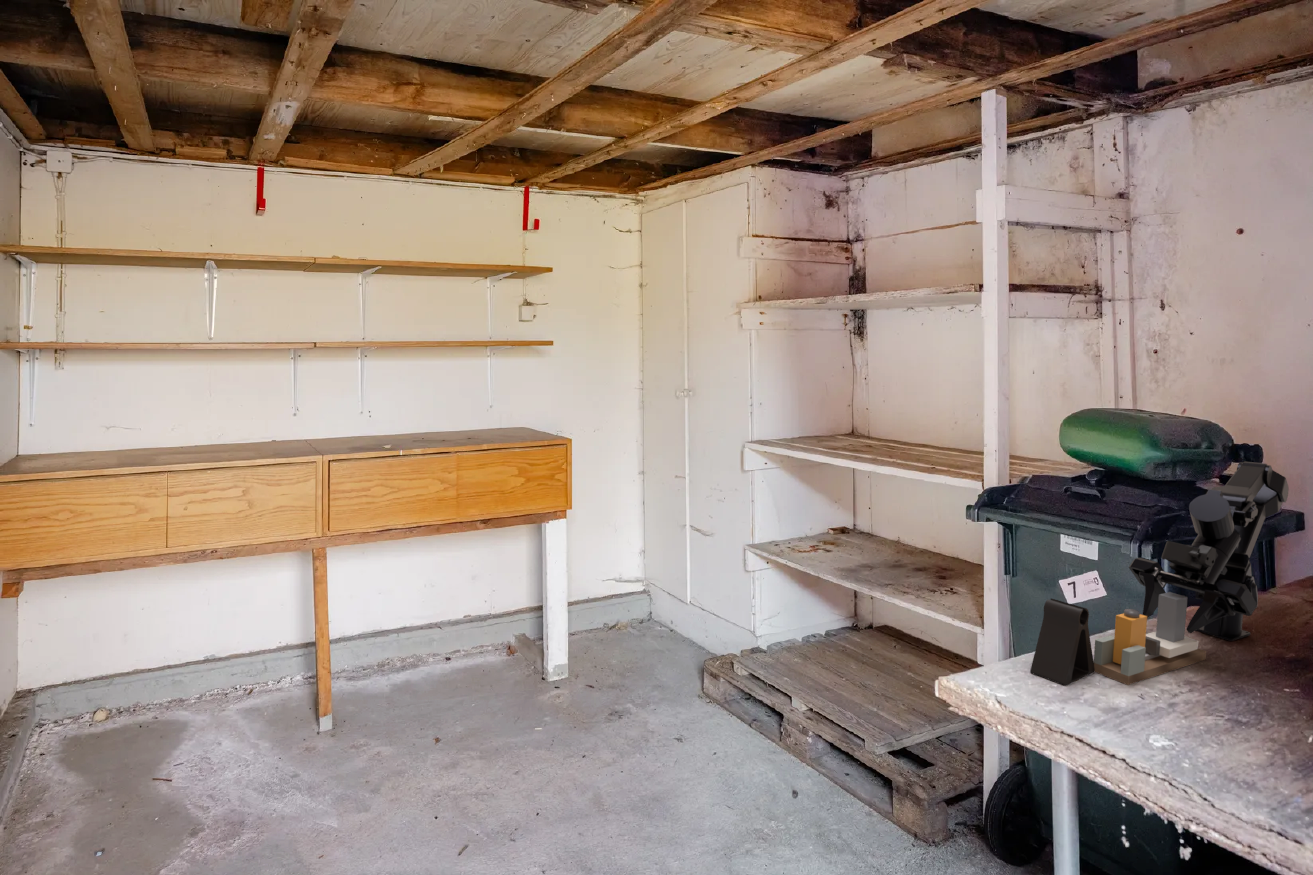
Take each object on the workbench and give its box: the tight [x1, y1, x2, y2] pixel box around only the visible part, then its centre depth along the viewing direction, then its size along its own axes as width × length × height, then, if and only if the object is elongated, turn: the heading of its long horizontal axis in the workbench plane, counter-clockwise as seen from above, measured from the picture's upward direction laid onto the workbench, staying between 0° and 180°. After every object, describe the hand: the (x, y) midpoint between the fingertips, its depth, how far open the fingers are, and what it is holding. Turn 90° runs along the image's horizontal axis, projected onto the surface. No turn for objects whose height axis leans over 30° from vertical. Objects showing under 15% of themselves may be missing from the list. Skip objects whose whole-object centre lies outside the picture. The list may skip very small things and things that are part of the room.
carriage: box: [1145, 591, 1199, 658], centre depth 138 cm, size 9×6×9 cm, turn 116°
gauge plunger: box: [1113, 608, 1148, 664], centre depth 133 cm, size 4×3×9 cm
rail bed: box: [1094, 648, 1207, 686], centre depth 137 cm, size 21×6×2 cm, turn 116°
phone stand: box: [1029, 598, 1095, 686], centre depth 134 cm, size 9×6×12 cm, turn 123°
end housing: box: [1093, 635, 1146, 676], centre depth 133 cm, size 4×6×4 cm, turn 26°
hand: (1165, 624), depth 138 cm, fingers open, 7 cm apart
